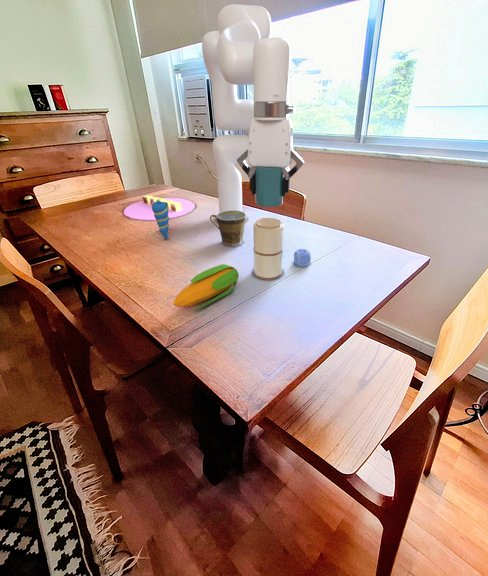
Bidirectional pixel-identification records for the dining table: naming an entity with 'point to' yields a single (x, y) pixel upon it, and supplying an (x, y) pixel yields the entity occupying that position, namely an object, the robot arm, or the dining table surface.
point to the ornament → (161, 217)
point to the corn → (208, 286)
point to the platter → (146, 213)
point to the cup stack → (268, 248)
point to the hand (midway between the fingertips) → (269, 193)
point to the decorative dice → (302, 257)
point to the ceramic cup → (231, 226)
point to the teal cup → (268, 186)
